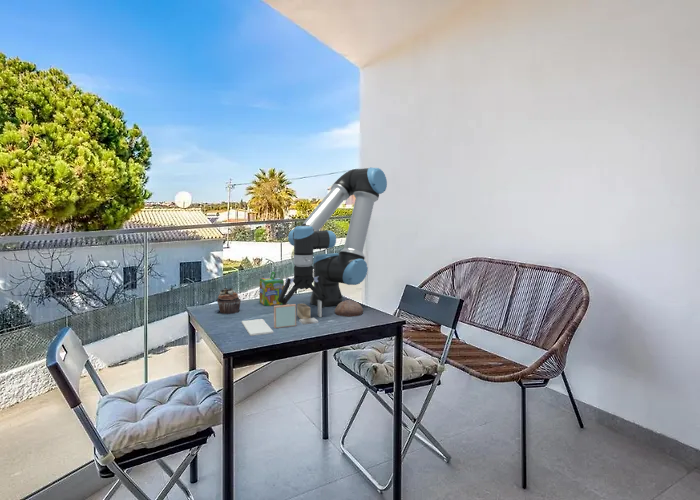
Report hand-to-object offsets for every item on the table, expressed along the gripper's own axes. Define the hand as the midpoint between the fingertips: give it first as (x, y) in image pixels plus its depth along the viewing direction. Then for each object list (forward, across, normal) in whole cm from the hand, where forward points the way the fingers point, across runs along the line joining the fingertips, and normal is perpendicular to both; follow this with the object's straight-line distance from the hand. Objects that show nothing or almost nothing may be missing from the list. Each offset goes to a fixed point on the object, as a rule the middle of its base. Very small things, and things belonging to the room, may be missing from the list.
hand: (303, 318), depth 162 cm
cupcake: (0, -26, +23) cm, 34 cm away
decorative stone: (0, +20, +1) cm, 20 cm away
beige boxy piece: (0, 0, -2) cm, 2 cm away
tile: (0, -10, -8) cm, 13 cm away
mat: (0, -20, -6) cm, 21 cm away
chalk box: (0, -6, +31) cm, 31 cm away
